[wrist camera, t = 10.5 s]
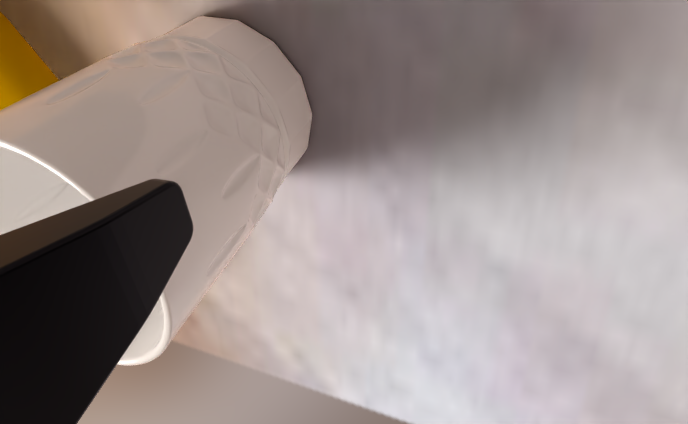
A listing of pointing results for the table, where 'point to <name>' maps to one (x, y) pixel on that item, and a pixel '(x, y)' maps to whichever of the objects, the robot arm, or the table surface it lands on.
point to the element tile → (19, 66)
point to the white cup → (163, 146)
